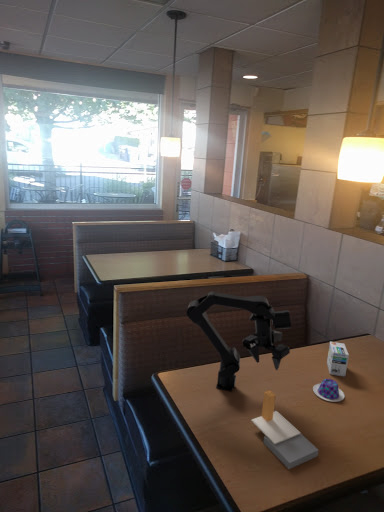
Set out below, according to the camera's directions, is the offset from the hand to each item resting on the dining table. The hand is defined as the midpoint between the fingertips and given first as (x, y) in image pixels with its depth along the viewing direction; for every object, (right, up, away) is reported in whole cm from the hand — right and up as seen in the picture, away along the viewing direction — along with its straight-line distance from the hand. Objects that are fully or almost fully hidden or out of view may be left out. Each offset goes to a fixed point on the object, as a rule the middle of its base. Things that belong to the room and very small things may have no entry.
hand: (267, 365), depth 149 cm
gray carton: (+2, -19, -27) cm, 33 cm away
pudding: (+25, -12, +4) cm, 28 cm away
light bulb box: (+35, -8, +21) cm, 42 cm away
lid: (-1, -14, -21) cm, 26 cm away
